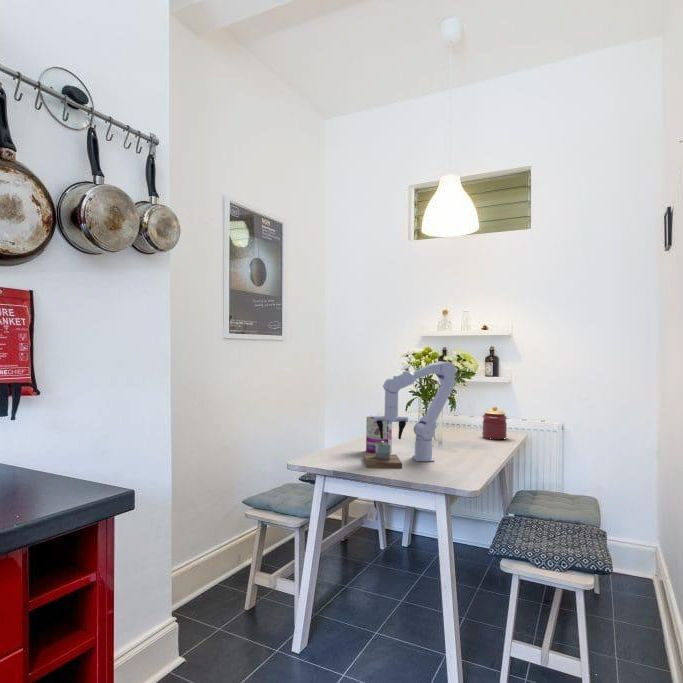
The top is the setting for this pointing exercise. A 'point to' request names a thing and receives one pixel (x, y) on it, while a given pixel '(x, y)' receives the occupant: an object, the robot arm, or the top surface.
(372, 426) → the candy bar box
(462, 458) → the top surface
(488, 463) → the top surface
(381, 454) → the housing
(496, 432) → the canister
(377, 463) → the stand
